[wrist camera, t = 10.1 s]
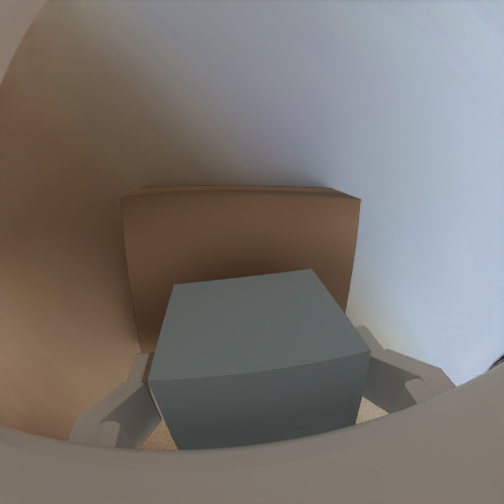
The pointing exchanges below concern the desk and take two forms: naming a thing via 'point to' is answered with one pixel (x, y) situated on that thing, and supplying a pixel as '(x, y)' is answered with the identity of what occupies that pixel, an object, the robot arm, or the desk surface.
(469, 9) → the desk surface
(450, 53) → the desk surface
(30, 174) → the desk surface
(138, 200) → the walnut block
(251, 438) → the slate cube
